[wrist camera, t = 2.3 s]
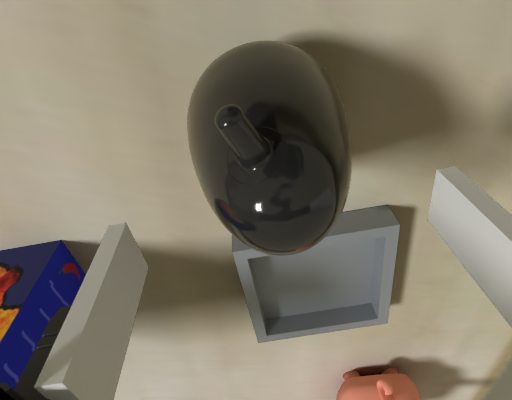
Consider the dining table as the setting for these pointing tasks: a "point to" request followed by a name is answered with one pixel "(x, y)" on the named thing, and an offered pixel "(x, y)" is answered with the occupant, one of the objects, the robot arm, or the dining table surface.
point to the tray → (323, 279)
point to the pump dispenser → (271, 146)
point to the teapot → (378, 386)
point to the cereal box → (32, 299)
